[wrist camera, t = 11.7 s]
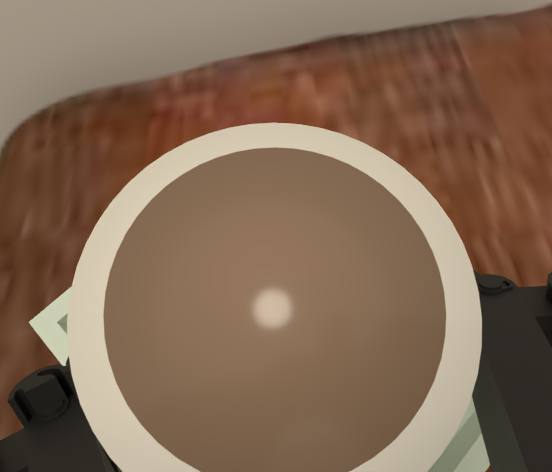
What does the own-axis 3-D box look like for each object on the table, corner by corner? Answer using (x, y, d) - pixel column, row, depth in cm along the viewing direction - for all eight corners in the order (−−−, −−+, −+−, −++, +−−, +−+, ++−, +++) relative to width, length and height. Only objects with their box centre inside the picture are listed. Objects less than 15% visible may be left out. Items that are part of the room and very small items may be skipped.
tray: (259, 158, 27) (257, 131, 24) (515, 381, 22) (550, 379, 19) (58, 330, 23) (28, 322, 20) (316, 652, 18) (323, 700, 15)
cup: (273, 238, 21) (274, 65, 10) (392, 349, 19) (564, 291, 8) (154, 350, 19) (-18, 292, 8) (274, 488, 17) (276, 678, 6)
